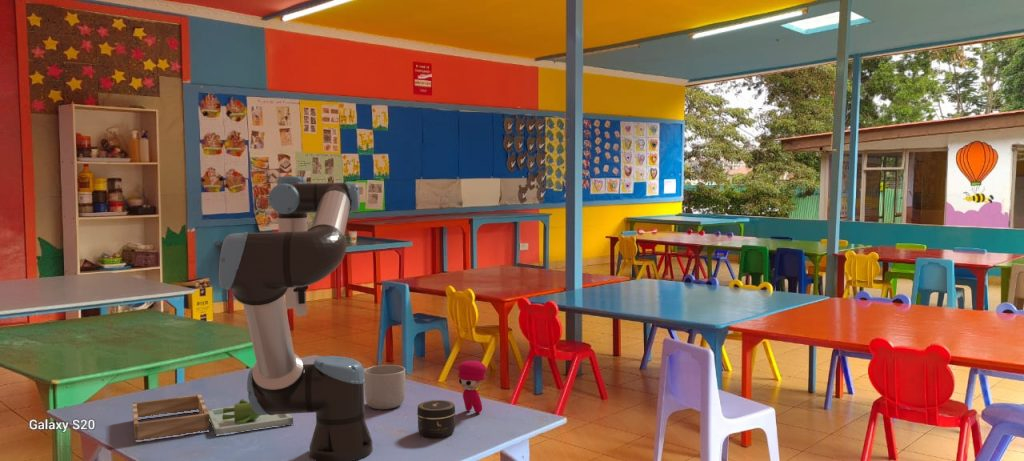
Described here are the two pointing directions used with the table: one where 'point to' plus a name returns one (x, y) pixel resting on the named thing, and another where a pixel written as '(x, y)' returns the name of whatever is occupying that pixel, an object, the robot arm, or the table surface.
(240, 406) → the character figure
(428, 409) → the jar
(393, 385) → the planter
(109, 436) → the table surface
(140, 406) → the bin
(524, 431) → the table surface
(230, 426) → the tray
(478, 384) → the toy
